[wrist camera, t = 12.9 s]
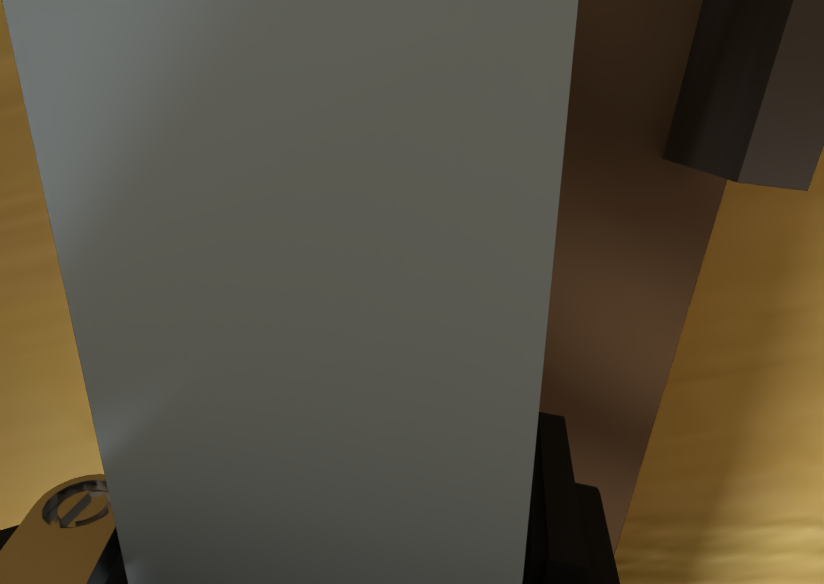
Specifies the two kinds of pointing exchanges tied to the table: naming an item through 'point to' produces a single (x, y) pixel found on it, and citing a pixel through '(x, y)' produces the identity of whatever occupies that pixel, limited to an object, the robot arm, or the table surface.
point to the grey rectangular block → (306, 273)
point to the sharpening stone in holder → (661, 197)
